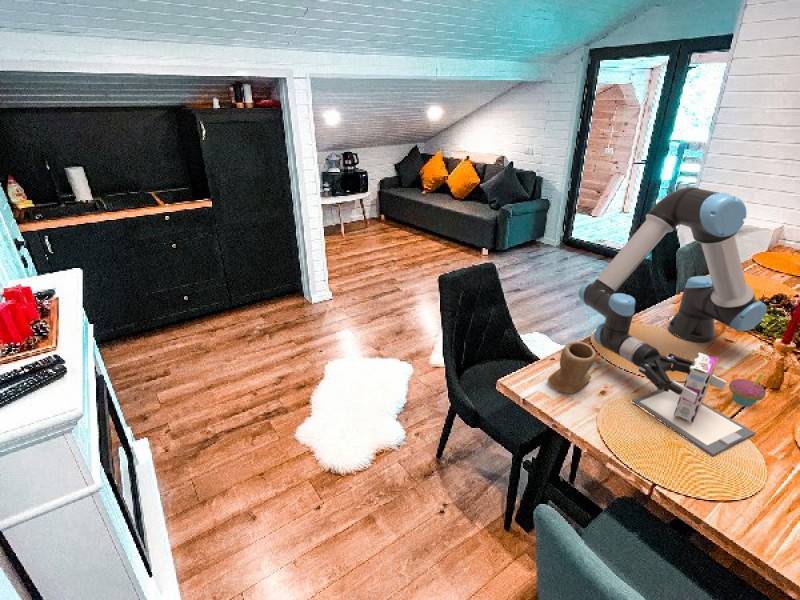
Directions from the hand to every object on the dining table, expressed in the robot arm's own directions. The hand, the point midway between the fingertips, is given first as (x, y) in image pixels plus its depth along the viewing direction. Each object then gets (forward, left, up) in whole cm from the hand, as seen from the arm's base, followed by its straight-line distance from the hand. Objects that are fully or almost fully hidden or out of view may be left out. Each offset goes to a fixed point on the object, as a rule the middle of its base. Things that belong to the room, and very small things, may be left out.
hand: (710, 392), depth 114 cm
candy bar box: (0, -4, -9) cm, 10 cm away
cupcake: (-21, -1, -11) cm, 24 cm away
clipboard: (0, -3, -11) cm, 11 cm away
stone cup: (+18, -30, -11) cm, 37 cm away
